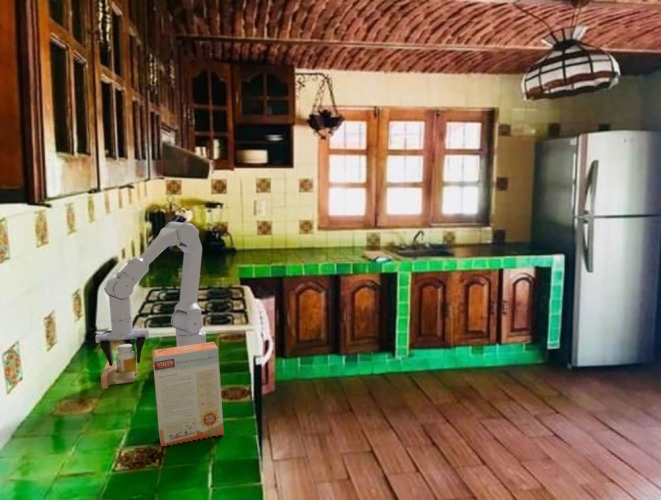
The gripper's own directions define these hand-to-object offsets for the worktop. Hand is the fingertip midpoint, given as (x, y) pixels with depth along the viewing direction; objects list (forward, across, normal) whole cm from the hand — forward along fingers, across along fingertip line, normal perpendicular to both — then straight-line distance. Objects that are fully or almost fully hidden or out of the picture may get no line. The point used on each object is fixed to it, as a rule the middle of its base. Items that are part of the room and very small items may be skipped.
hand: (125, 363), depth 168 cm
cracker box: (+5, +18, -44) cm, 48 cm away
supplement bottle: (+5, 0, 0) cm, 5 cm away
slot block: (+4, -1, 0) cm, 4 cm away
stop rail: (+4, -5, 0) cm, 7 cm away
